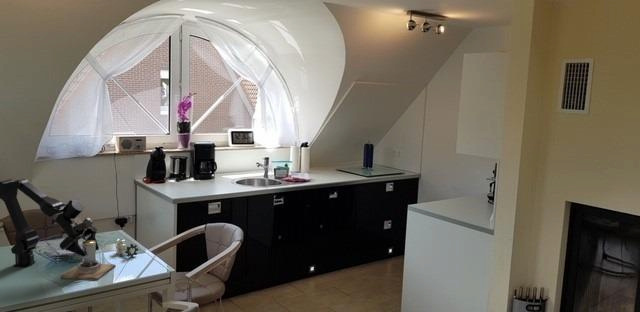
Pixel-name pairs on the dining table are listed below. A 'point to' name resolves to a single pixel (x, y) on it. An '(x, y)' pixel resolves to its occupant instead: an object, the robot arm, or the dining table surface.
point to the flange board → (88, 276)
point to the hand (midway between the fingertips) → (91, 252)
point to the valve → (125, 248)
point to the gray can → (88, 253)
